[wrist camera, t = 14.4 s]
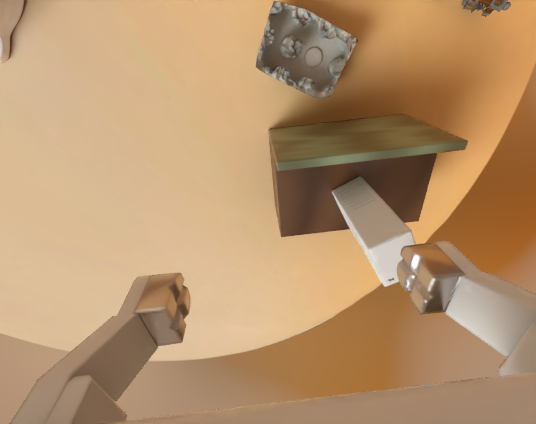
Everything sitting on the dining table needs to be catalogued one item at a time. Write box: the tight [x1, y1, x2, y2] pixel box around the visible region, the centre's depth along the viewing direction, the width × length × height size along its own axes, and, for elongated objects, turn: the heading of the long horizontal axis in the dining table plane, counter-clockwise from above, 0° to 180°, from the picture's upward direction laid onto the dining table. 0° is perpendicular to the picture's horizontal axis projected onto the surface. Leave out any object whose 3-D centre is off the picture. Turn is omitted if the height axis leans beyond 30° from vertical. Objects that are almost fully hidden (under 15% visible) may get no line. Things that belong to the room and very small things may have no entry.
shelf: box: [268, 114, 468, 237], centre depth 35 cm, size 20×13×13 cm, turn 96°
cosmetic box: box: [332, 177, 416, 286], centre depth 29 cm, size 6×4×12 cm
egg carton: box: [256, 1, 358, 98], centre depth 31 cm, size 11×8×4 cm
